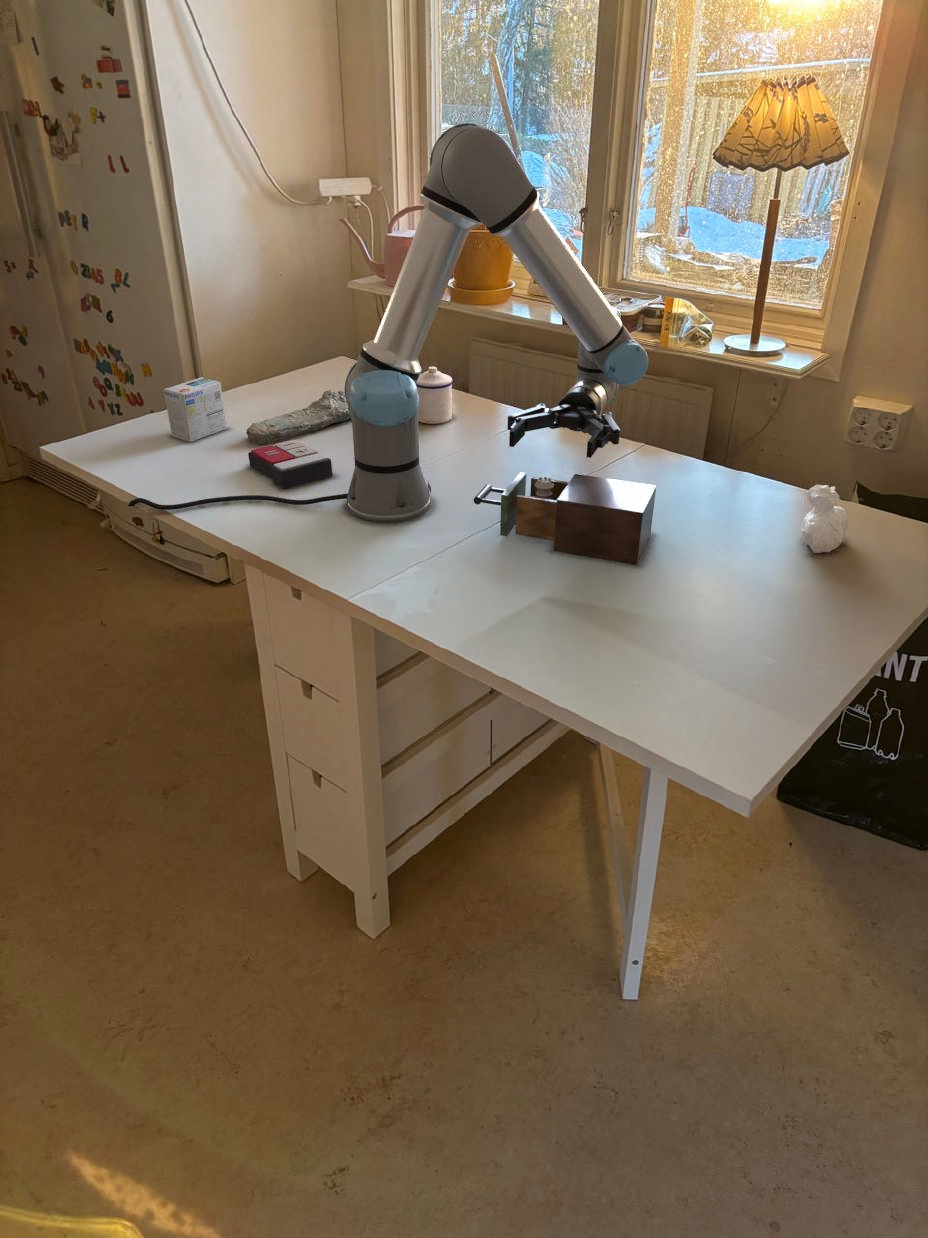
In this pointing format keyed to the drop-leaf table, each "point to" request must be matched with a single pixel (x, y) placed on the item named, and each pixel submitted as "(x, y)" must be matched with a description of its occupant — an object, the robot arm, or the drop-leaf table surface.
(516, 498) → the drawer
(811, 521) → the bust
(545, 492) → the rook chess piece
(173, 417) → the light bulb box
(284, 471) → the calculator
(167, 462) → the drop-leaf table surface
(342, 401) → the long grey stone
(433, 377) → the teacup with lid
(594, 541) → the cabinet
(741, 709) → the drop-leaf table surface
